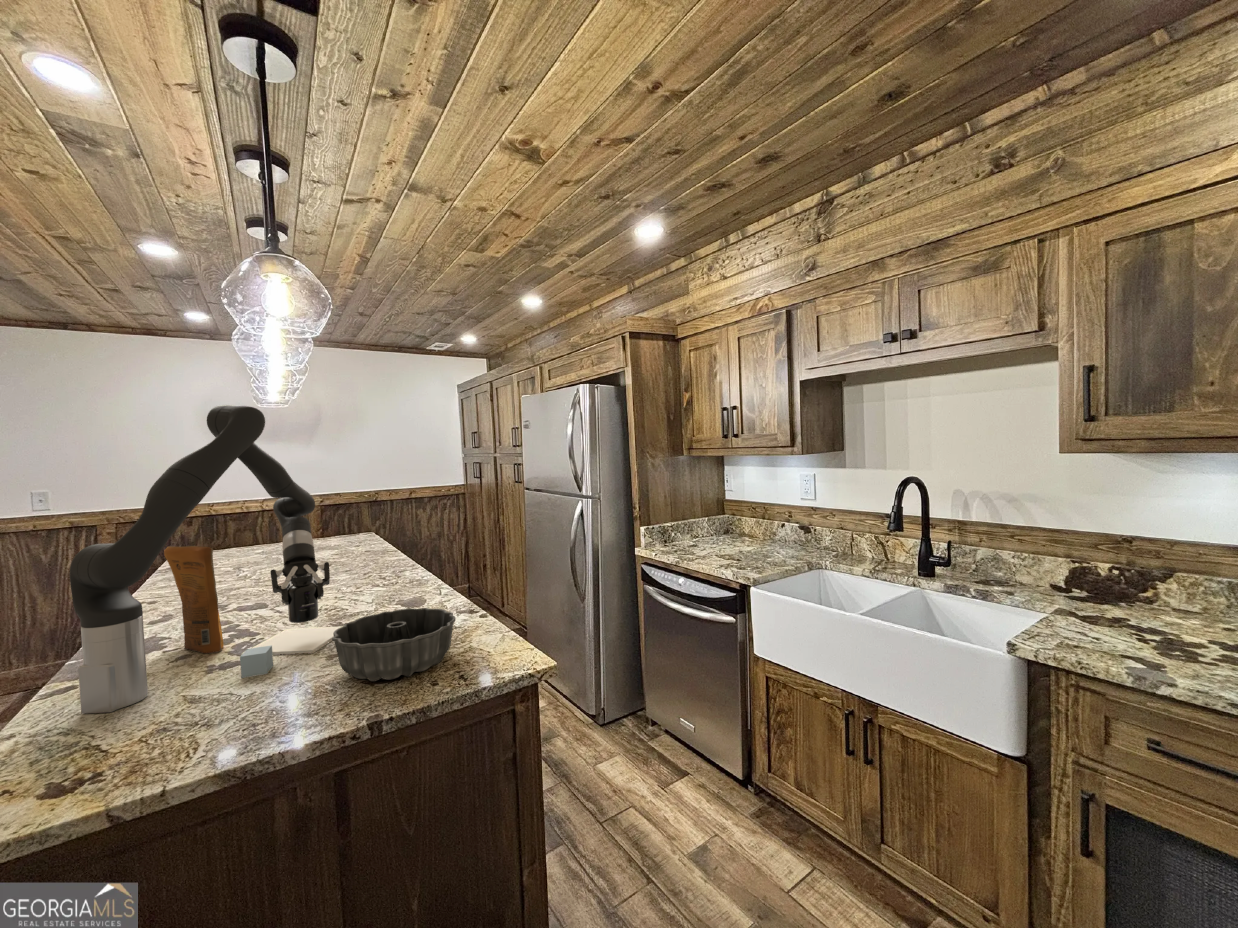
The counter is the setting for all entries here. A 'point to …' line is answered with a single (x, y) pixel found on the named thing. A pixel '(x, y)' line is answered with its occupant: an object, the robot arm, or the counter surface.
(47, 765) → the counter surface
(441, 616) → the bundt pan
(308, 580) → the supplement bottle
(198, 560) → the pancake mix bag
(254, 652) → the blue block
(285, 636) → the mat
